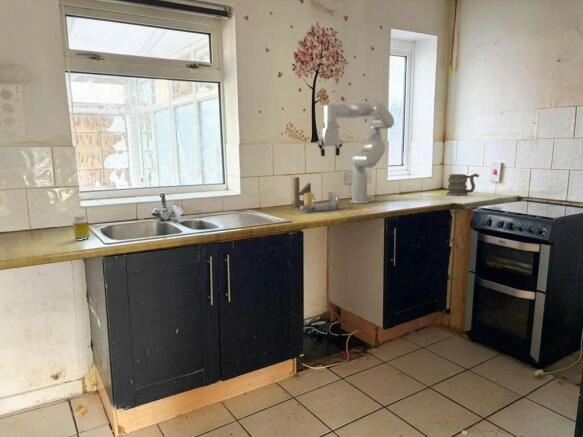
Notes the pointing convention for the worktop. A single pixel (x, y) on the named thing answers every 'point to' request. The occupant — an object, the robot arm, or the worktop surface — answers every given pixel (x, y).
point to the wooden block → (306, 189)
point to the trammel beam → (331, 201)
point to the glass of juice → (80, 227)
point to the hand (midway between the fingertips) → (330, 155)
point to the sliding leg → (309, 200)
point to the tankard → (460, 184)
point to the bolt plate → (319, 209)
